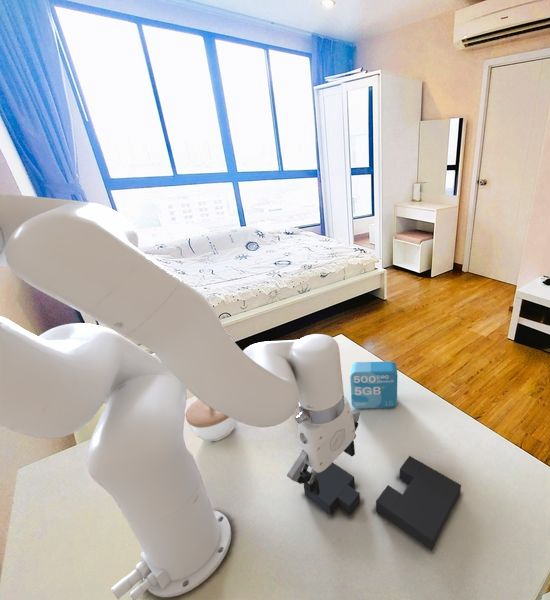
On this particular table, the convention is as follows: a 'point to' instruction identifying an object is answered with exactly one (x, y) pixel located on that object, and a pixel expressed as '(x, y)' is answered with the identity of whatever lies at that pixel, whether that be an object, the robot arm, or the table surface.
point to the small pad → (335, 490)
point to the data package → (373, 384)
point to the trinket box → (208, 422)
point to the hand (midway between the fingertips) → (331, 470)
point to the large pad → (420, 502)
